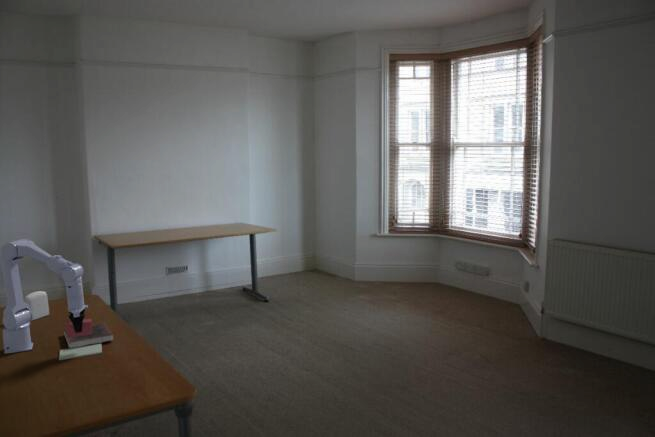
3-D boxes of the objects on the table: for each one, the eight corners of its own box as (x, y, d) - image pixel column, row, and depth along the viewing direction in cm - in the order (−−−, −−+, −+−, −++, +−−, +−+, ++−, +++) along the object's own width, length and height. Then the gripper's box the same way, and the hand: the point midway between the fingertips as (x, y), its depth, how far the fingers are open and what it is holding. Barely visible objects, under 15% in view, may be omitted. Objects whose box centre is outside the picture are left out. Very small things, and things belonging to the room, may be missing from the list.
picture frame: (64, 335, 242) (69, 349, 223) (63, 329, 241) (68, 342, 223) (105, 327, 250) (113, 340, 231) (105, 322, 249) (113, 334, 231)
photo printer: (31, 321, 262) (28, 295, 260) (25, 320, 264) (22, 294, 262) (51, 315, 271) (48, 289, 269) (45, 314, 273) (42, 288, 271)
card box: (92, 330, 224) (90, 318, 223) (92, 334, 220) (91, 321, 219) (67, 334, 220) (65, 321, 219) (66, 337, 216) (65, 325, 215)
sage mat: (59, 360, 213) (59, 358, 213) (60, 351, 223) (60, 349, 222) (102, 353, 219) (102, 351, 219) (101, 344, 228) (101, 343, 228)
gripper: (86, 299, 212) (90, 334, 214) (86, 290, 226) (89, 323, 228) (65, 301, 210) (69, 337, 212) (67, 292, 223) (70, 325, 225)
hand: (78, 330), depth 220 cm, fingers closed on card box, 4 cm apart
